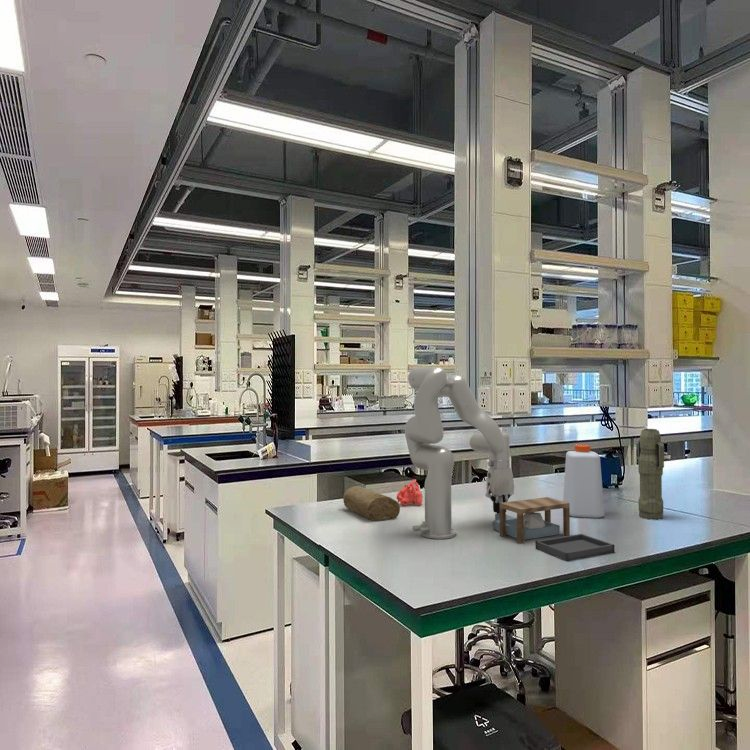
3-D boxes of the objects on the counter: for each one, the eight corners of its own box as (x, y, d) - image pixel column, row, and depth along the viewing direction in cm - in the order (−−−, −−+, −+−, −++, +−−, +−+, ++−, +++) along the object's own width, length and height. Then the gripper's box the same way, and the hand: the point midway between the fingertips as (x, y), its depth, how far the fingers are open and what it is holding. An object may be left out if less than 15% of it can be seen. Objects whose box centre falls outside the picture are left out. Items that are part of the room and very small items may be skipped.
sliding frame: (559, 534, 199) (559, 505, 199) (521, 540, 192) (521, 510, 192) (515, 518, 221) (515, 493, 221) (479, 523, 214) (479, 497, 214)
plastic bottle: (606, 519, 221) (605, 448, 221) (566, 517, 224) (565, 447, 224) (599, 510, 236) (598, 443, 236) (561, 508, 239) (560, 442, 239)
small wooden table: (520, 543, 189) (519, 509, 189) (499, 535, 199) (499, 503, 199) (569, 535, 198) (569, 503, 198) (547, 528, 208) (547, 497, 208)
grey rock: (517, 532, 204) (513, 515, 199) (534, 519, 207) (531, 501, 202) (533, 546, 198) (529, 528, 193) (551, 532, 201) (548, 514, 195)
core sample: (369, 506, 246) (369, 483, 246) (401, 519, 223) (400, 494, 223) (340, 510, 240) (340, 486, 240) (369, 524, 216) (369, 498, 216)
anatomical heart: (395, 509, 246) (391, 482, 249) (417, 506, 252) (413, 480, 255) (406, 507, 239) (402, 480, 241) (429, 504, 245) (424, 477, 248)
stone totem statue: (656, 521, 216) (656, 431, 216) (630, 515, 227) (630, 428, 227) (672, 519, 220) (671, 430, 220) (645, 512, 231) (645, 427, 231)
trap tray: (566, 561, 171) (566, 553, 171) (535, 548, 184) (535, 541, 184) (614, 552, 179) (614, 544, 179) (581, 540, 192) (581, 533, 192)
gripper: (487, 467, 210) (488, 516, 210) (522, 464, 217) (522, 512, 217) (476, 464, 217) (476, 512, 217) (510, 461, 224) (510, 508, 223)
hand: (499, 511), depth 217 cm, fingers closed on sliding frame, 2 cm apart
